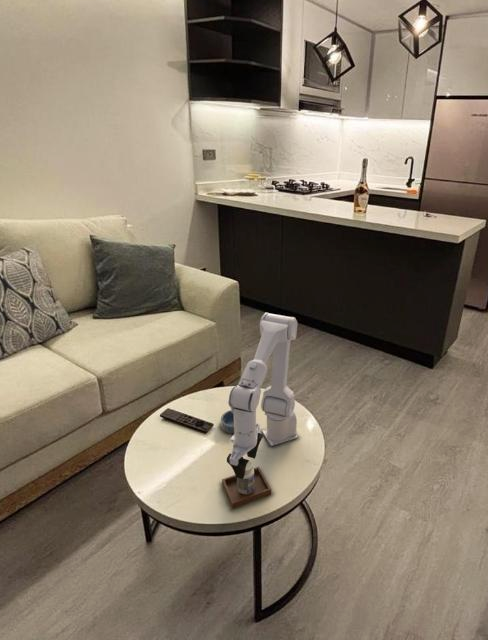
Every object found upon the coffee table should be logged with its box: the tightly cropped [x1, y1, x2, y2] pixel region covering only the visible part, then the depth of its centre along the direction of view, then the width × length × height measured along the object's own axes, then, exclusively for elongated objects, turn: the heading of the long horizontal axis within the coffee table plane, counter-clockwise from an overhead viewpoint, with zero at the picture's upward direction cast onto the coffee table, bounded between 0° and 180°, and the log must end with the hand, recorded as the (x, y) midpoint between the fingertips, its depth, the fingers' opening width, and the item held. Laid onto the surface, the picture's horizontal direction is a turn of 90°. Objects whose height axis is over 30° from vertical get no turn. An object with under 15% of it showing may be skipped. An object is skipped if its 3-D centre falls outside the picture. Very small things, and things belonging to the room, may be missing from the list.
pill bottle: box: [237, 460, 254, 494], centre depth 113 cm, size 5×5×8 cm
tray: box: [221, 466, 272, 510], centre depth 114 cm, size 11×9×2 cm
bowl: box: [220, 409, 234, 434], centre depth 139 cm, size 9×9×3 cm
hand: (246, 466), depth 111 cm, fingers open, 7 cm apart
